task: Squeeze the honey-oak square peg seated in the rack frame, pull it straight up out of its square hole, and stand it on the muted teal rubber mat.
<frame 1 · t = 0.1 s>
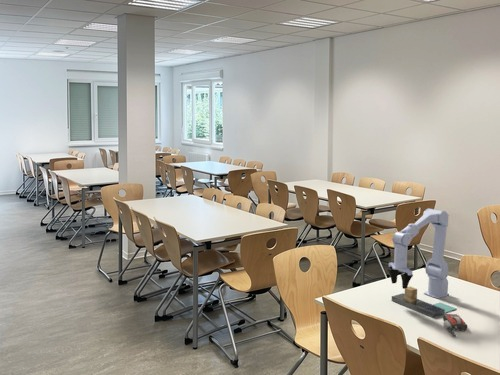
hand: (399, 285, 230), 10 cm above the table, fingers open, 7 cm apart
teal mat: (442, 308, 228), on the table
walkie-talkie: (455, 329, 207), on the table
oak peg: (410, 304, 233), resting in rack frame
rack frame: (417, 307, 229), on the table
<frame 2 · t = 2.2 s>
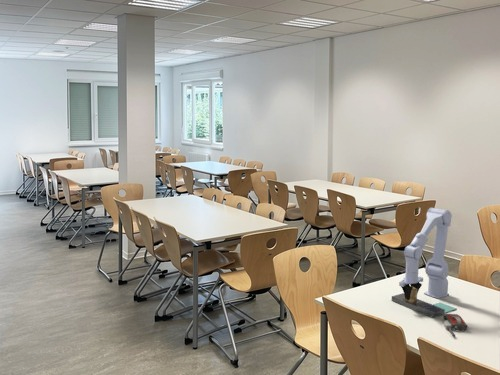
hand: (410, 298, 232), 3 cm above the table, fingers closed on oak peg, 4 cm apart
oak peg: (410, 304, 233), resting in rack frame, touching gripper
everything else where it was.
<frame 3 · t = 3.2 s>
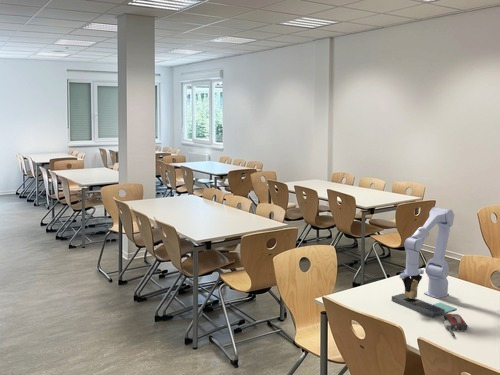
hand: (411, 290, 232), 7 cm above the table, fingers closed on oak peg, 4 cm apart
oak peg: (410, 296, 232), point 4 cm above the table, touching gripper
everything else where it was.
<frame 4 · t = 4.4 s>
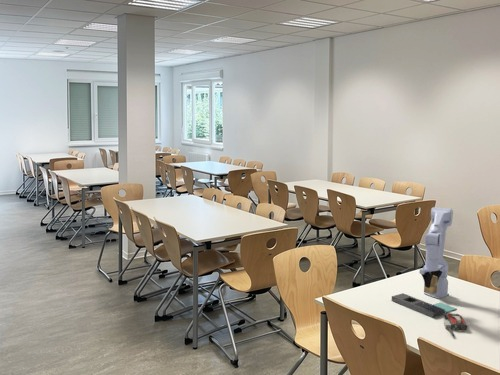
hand: (430, 286, 229), 10 cm above the table, fingers closed on oak peg, 4 cm apart
oak peg: (430, 292, 229), point 7 cm above the table, touching gripper
everything else where it was.
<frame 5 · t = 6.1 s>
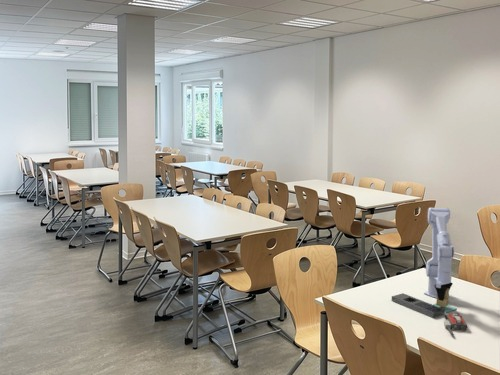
hand: (442, 298, 228), 5 cm above the table, fingers closed on oak peg, 4 cm apart
oak peg: (442, 305, 228), point 2 cm above the table, touching gripper
everything else where it was.
when the fingers open (5 cm above the table, at t = 6.6 s): oak peg drops 1 cm, resting on teal mat.
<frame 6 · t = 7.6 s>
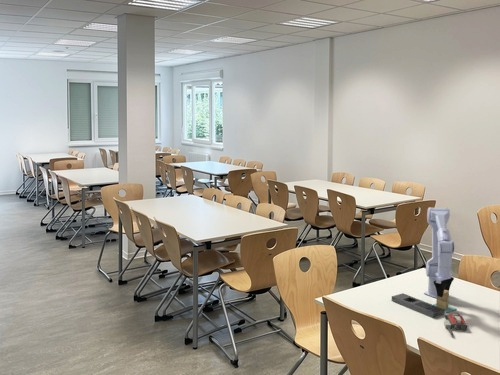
hand: (442, 294, 227), 7 cm above the table, fingers open, 7 cm apart
oak peg: (442, 307, 228), resting on teal mat
everything else where it was.
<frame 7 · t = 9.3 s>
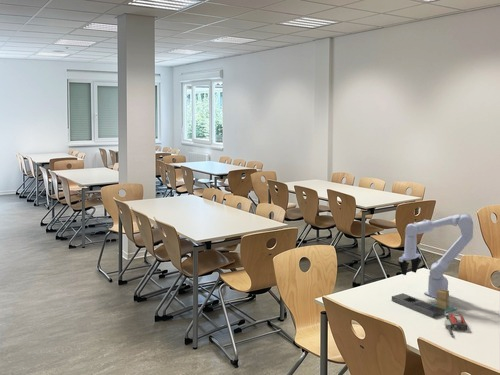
hand: (409, 273, 249), 9 cm above the table, fingers open, 7 cm apart
nothing on the table moved.
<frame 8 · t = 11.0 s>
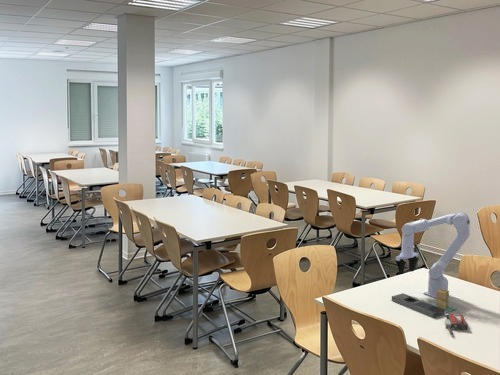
hand: (406, 272, 251), 9 cm above the table, fingers open, 7 cm apart
at the end: oak peg inside the target area on the teal mat (0.1 cm from its centre), point 0.4 cm above the teal mat's base; oak peg tilted 0°; the gripper is holding nothing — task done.
